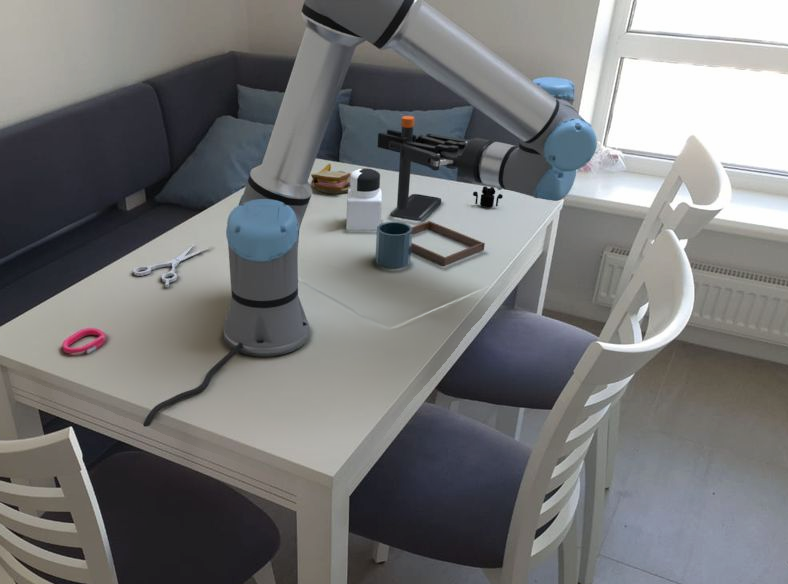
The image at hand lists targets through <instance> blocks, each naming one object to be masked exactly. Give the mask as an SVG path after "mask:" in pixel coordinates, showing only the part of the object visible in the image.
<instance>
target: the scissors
mask: <svg viewBox="0 0 788 584" xmlns="http://www.w3.org/2000/svg"><path fill="white" fill-rule="evenodd" d="M194 246H195V244H192V245H191V246H189V247H188V248H187V249H186V250H184V251H183V252H182V253H180V254H179V255H178V256H177V257H176V258H172V259H170V260H168V261H165V262H162V263H155V264H154V265H141V266H137V267H135V268H133V275H135V276H138V277H141V276H146V275H149V274H151V272H152V271H153V270H155V269H160V268H167V267H172V268H171V270H170V271H168V272H163V273H162V274H161V281H162V282H163V283H164V288H170V283H173V282H175V281H177V280H178V275H177V273H176V268H177V266H178V265H179V264H180V262H182V261H184V260H187V259H189V258H191V257H193V256H196V255H197V254H200V253H201V252H204V251H207V250H208V249H209V248H210V246H208V247H205V248H203V249H200V250H198V251H195V252H192V253H190V254H188V253H189V252H190V251H191V249H192V248H193V247H194ZM168 277H171V278H168Z"/></svg>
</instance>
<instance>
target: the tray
mask: <svg viewBox="0 0 788 584" xmlns="http://www.w3.org/2000/svg"><path fill="white" fill-rule="evenodd" d="M411 227H412V236H414V235H416V234H419V233H422V232H425V231H428V230H430V231H432V232H435V233H437V234H440V235H442V236H445V237H447V238H449V239H452V240H454V241H457V242H459V243H462V244H464V245H466V246H469V247H467V248H465V249H462V250H460V251H456V252H455V253H452V254H449V255H447V256H443V255H442V254H439V253H437V252H435V251H433V250H430V249H427V248H426V247H422V246H421V245H418V244H416V243H413V242H412V244H411V253H414V254H416V255H418V256H421V257H423V258H425V259H427V260H430V261H432V262H434V263H436V264H439V265H441V266H443V267H446V266H448V265H451V264H453V263H456V262H458V261H461V260H463V259H466V258H468V257H471V256H474V255H476V254H479V253H481V252H483V251H485V245H486V243H485V242H484V241H481V240H478V239H475V238H473V237H470V236H468V235H465V234H464V233H461V232H458V231H456V230H453V229H450V228H448V227H445V226H443V225H441V224H438V223H436V222H433V221H431V220H428V221H426V222H425V221H424V222H422V223H420V224H416V225H414V226H411Z"/></svg>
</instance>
